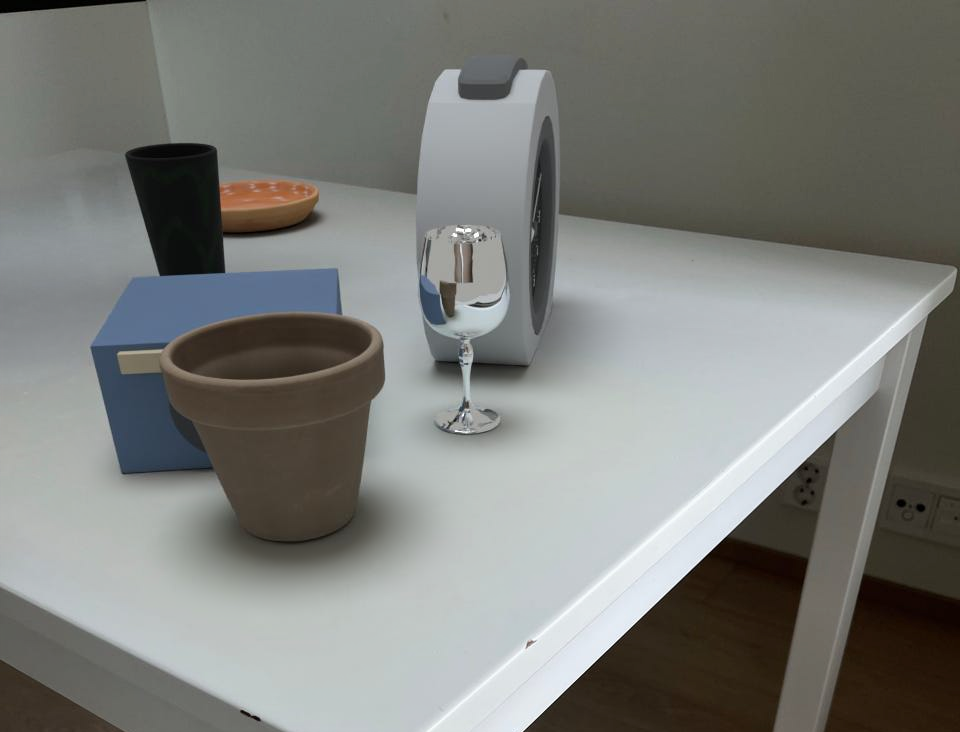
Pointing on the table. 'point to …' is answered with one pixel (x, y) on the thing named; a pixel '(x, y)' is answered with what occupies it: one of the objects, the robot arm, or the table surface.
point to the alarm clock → (496, 188)
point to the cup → (180, 206)
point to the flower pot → (281, 413)
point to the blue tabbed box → (162, 318)
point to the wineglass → (464, 304)
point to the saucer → (265, 204)
